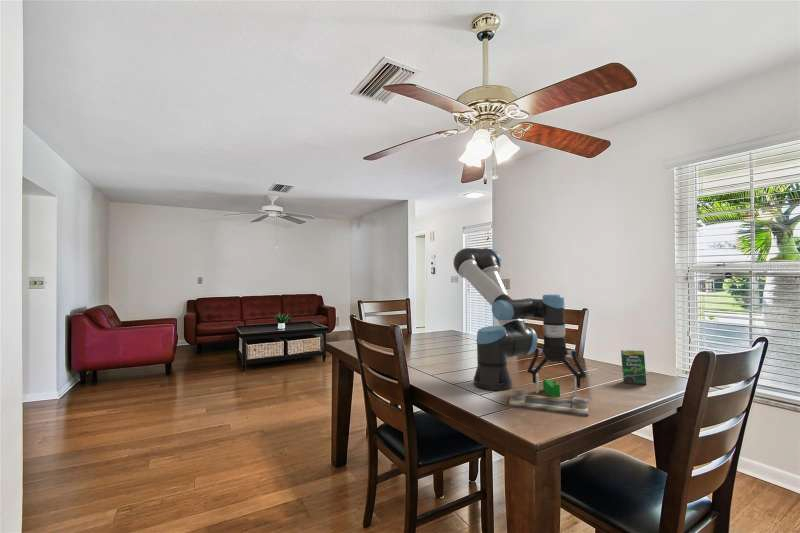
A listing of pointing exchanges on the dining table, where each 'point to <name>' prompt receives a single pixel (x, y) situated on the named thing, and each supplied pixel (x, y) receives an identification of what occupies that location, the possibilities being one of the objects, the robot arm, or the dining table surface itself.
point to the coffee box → (633, 367)
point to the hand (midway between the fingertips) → (556, 394)
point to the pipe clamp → (551, 388)
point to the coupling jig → (549, 403)
